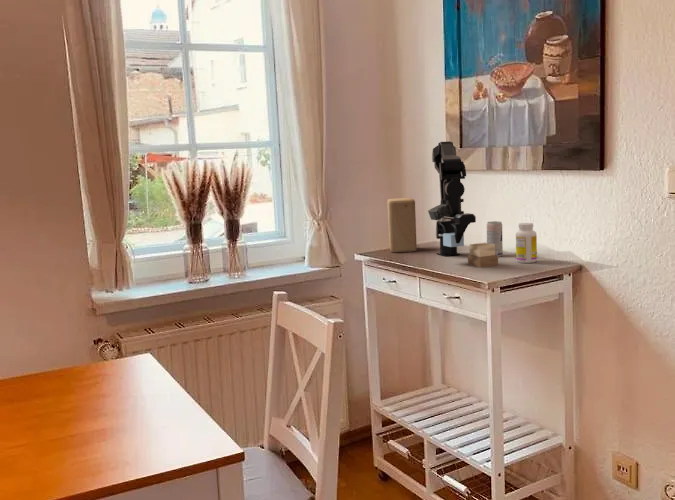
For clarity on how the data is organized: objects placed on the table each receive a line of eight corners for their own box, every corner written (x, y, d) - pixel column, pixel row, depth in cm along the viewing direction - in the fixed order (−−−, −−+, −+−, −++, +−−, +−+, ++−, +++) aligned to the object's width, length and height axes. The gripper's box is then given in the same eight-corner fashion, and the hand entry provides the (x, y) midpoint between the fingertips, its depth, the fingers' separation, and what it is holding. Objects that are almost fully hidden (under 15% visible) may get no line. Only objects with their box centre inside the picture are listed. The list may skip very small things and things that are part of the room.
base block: (468, 265, 229) (467, 254, 228) (485, 262, 232) (485, 252, 231) (480, 268, 222) (480, 257, 222) (498, 265, 225) (497, 255, 225)
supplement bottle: (534, 259, 231) (534, 221, 229) (538, 263, 224) (538, 224, 222) (514, 260, 232) (514, 222, 230) (517, 263, 225) (517, 225, 223)
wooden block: (417, 251, 260) (415, 199, 257) (390, 253, 260) (388, 200, 257) (414, 247, 270) (412, 197, 267) (389, 249, 270) (387, 198, 267)
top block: (443, 245, 232) (442, 233, 232) (455, 243, 234) (455, 232, 234) (451, 247, 228) (450, 235, 227) (463, 245, 230) (463, 233, 229)
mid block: (469, 254, 228) (469, 244, 228) (484, 252, 231) (484, 242, 230) (479, 257, 223) (479, 246, 222) (495, 255, 225) (495, 244, 225)
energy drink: (503, 254, 244) (502, 221, 242) (501, 257, 239) (501, 223, 237) (488, 254, 246) (487, 221, 244) (486, 257, 241) (485, 223, 239)
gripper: (417, 196, 234) (418, 241, 236) (446, 199, 217) (448, 248, 219) (445, 194, 238) (446, 238, 241) (476, 196, 221) (477, 244, 224)
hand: (453, 242), depth 231 cm, fingers closed on top block, 5 cm apart
